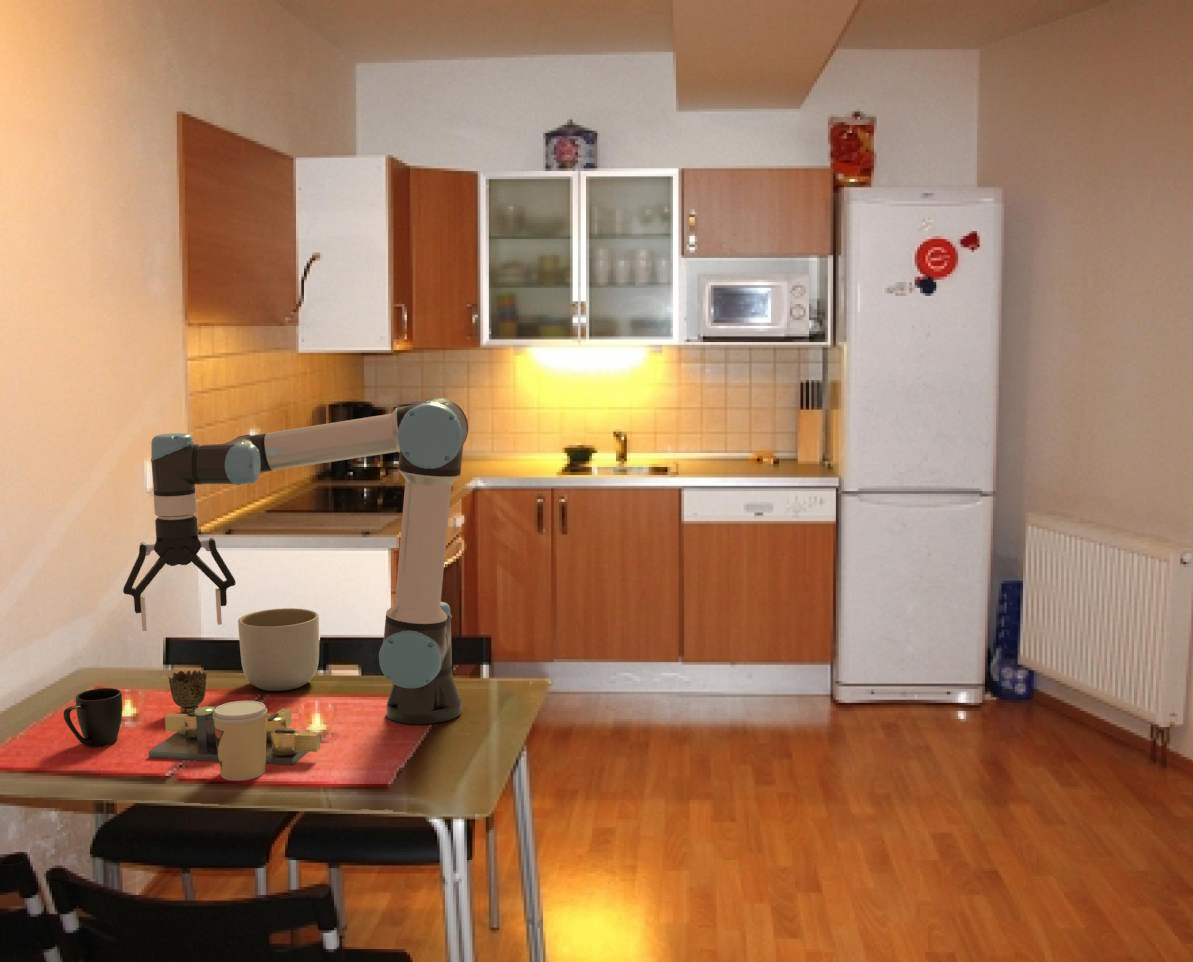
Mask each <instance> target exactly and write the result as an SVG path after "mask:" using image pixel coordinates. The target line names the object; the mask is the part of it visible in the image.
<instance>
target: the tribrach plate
mask: <svg viewBox="0 0 1193 962" xmlns="http://www.w3.org/2000/svg"><path fill="white" fill-rule="evenodd" d="M218 706H220V705H213V706H210V705H209V706H200V707H199V708H197V709H195V715H196V725H197V738H191V737H187V736H186V735H185V732H174V733H172V735H170V736H169V737H167V738H166V739H165V740H163V741H162V742H160V743H159V744H157V745H156V746H154V747H153V748H151V749H150V750H148V758H149V759H150V758H151V759H167V760H168V759H170V760H186V761H187V760H188V761H191V760H192V761H207V762H210V761H211V762H219V759H218V751H217V743H216V735H215V726H214V719H213V713H214V710H215V708H216V707H218ZM321 740H322V734H321V735H320V741H321ZM307 753H308V751H299V752H297V753H295V754H291V755H275V754H273V753H272V745H271V740H266V764H267V765H268V764H270V765H287V766H289V765H290V766H293V765H295V763H297V762H298V761H299V760H300V759H301V758H302V757H303V756H305V754H307ZM266 764H265V765H266Z"/></svg>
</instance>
